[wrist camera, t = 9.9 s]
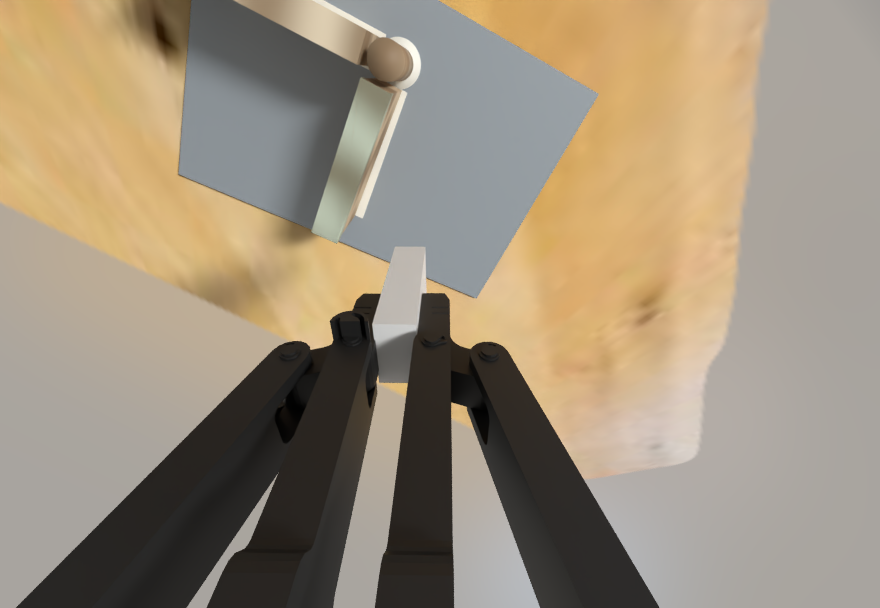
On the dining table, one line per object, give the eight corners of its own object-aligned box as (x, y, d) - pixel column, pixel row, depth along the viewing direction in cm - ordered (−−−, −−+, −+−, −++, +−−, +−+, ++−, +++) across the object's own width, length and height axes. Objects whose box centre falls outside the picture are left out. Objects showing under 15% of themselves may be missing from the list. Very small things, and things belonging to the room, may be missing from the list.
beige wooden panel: (194, -25, 28) (115, -57, 21) (197, -65, 26) (114, -113, 20) (407, 86, 31) (395, 88, 24) (418, 55, 30) (409, 48, 23)
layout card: (180, 173, 35) (177, 174, 35) (204, -136, 25) (200, -139, 24) (476, 297, 42) (476, 298, 41) (597, 94, 31) (599, 94, 30)
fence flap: (378, 77, 30) (360, 77, 24) (403, 91, 31) (391, 94, 25) (334, 206, 36) (311, 232, 30) (355, 216, 36) (336, 243, 30)
